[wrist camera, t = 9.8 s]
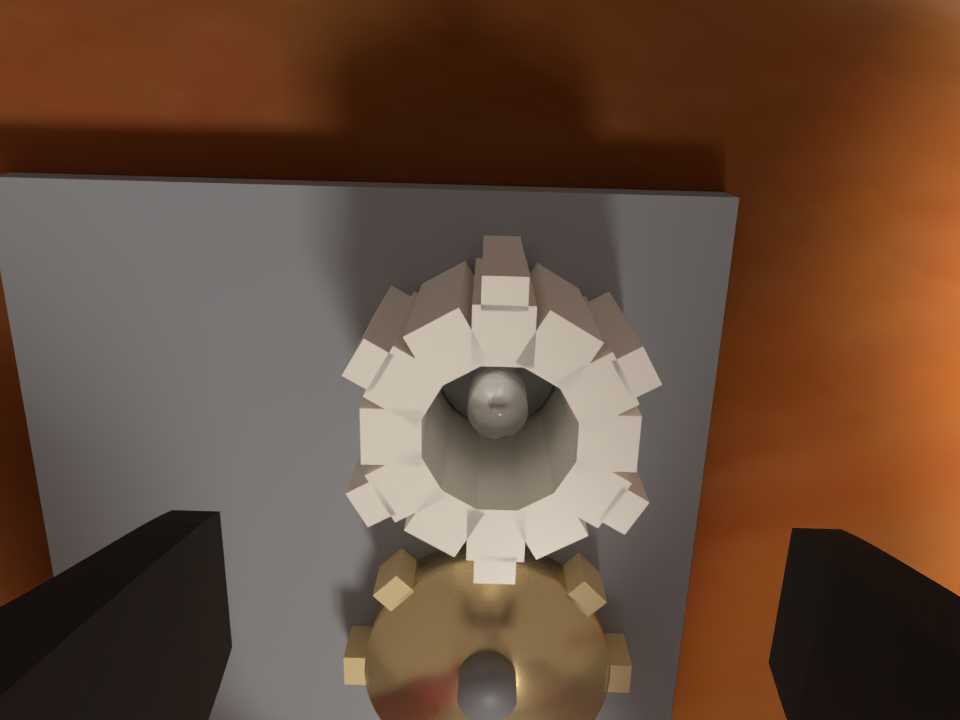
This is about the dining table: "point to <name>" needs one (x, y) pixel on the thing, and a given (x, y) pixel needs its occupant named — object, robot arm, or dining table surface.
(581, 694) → the gear board
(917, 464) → the dining table surface
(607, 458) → the gear
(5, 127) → the dining table surface
